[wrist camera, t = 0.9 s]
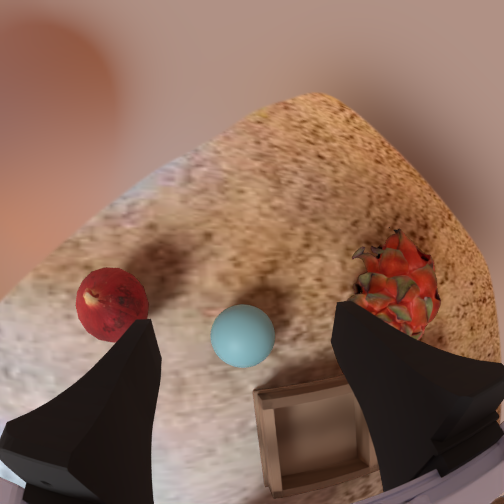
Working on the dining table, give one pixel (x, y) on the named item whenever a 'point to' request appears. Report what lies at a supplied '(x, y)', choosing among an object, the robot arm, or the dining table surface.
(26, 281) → the dining table surface
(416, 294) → the dragon fruit
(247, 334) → the ball
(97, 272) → the onion
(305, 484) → the divided wooden tray
